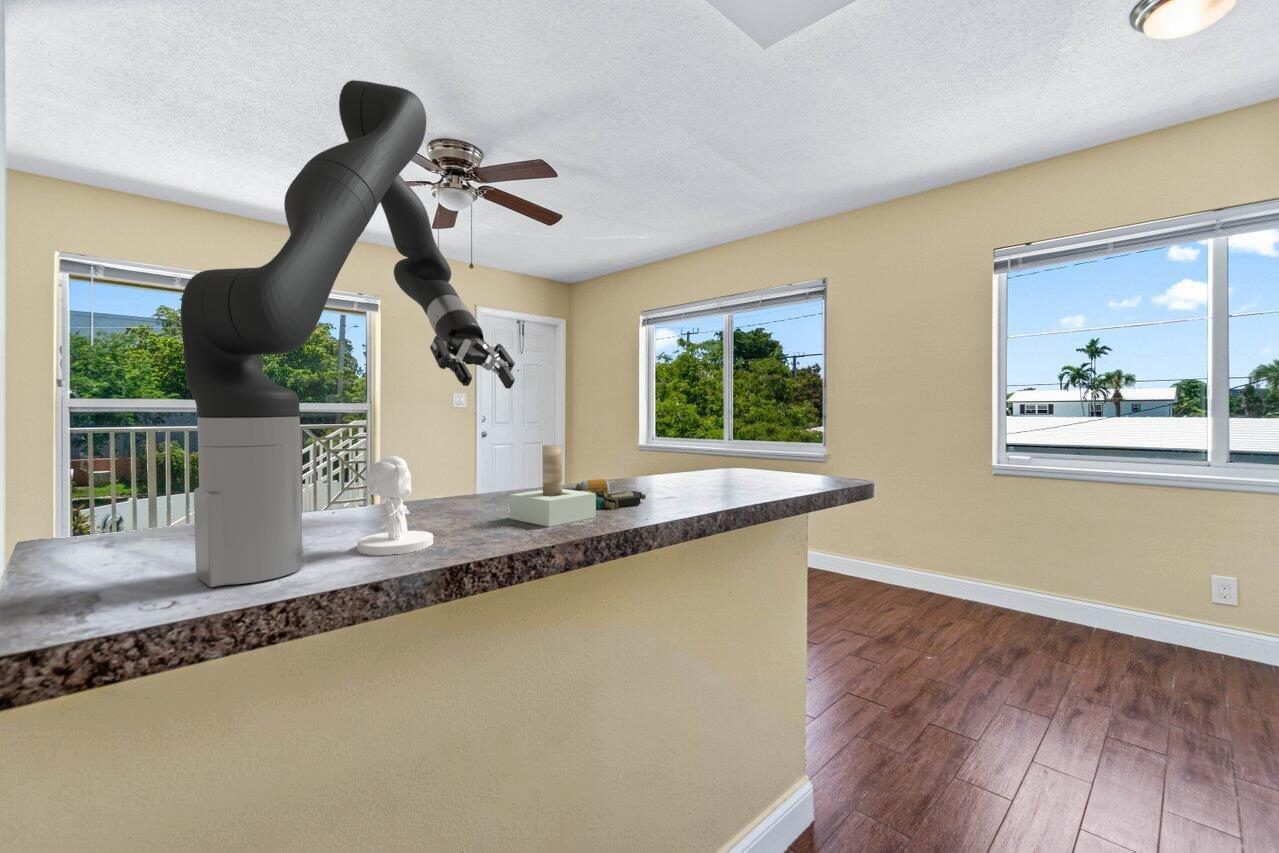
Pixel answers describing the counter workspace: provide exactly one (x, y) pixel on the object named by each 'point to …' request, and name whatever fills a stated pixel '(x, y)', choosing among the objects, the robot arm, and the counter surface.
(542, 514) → the socket block
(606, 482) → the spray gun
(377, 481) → the figurine
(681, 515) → the counter surface
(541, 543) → the counter surface
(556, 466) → the peg
